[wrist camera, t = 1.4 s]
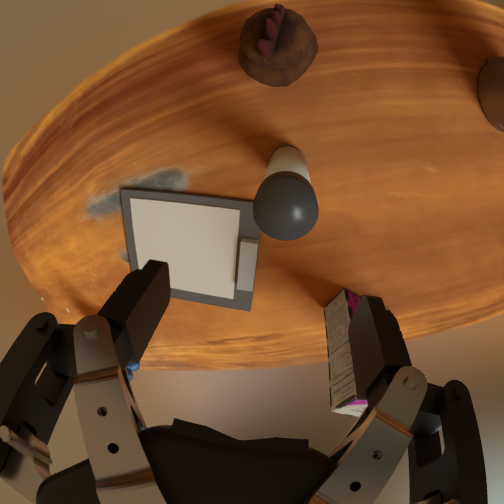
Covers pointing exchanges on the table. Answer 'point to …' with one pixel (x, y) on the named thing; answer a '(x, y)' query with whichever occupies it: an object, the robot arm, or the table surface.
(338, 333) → the candy bar box
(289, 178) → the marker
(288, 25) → the wooden figurine
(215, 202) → the clipboard
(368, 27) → the table surface
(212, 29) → the table surface
